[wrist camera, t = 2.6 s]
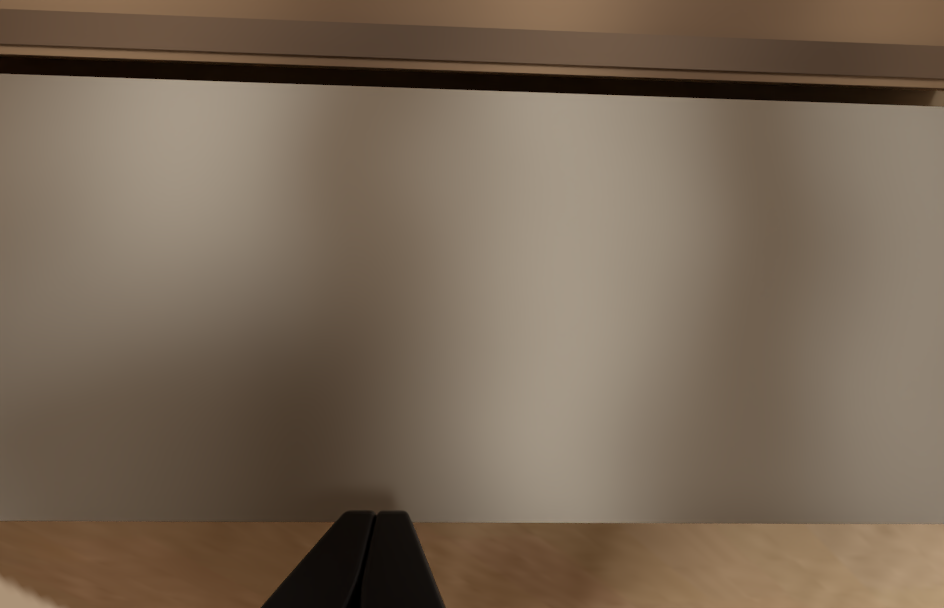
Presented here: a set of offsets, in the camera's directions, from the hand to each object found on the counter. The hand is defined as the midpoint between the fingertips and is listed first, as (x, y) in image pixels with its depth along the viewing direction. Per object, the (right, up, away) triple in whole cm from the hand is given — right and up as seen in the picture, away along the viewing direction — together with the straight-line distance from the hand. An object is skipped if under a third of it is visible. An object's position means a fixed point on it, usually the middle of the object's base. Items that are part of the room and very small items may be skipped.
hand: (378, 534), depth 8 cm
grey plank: (0, +3, +3) cm, 5 cm away
